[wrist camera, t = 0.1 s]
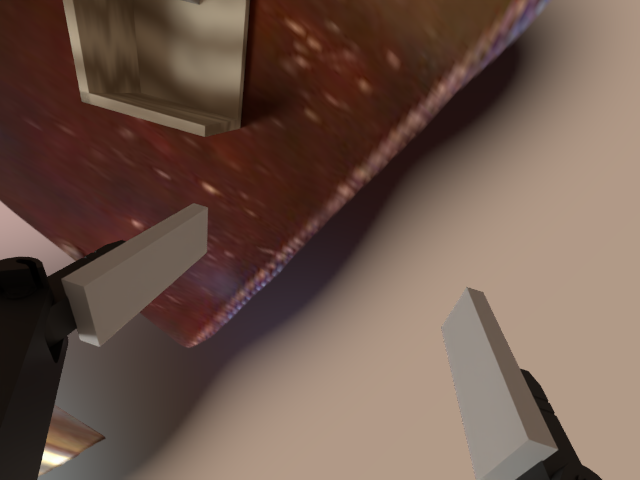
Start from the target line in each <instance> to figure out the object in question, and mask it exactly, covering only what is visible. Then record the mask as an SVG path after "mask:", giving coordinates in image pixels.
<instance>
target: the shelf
mask: <svg viewBox="0 0 640 480" xmlns="http://www.w3.org/2000/svg"><path fill="white" fill-rule="evenodd" d="M63 3H64V9H65V14H66V19H67V25H68V30H69V35H70V41H71V46H72V51H73V57H74V62H75V67H76V73H77V78H78V83H79V89H80V94H81V99H82V102H86V103H89V104H93V105H96V106H99V107H103V108H106V109H110V110H113V111H117V112H120V113H124V114H127V115H131V116H134V117H138V118H141V119H145V120H148V121H152V122H155V123H159V124H162V125H166V126H169V127H172V128H176V129H179V130H183V131H186V132H190V133H193V134H197V135H200V136H204V137H206V136H210V135H214V134H219V133H223V132H227V131H231V130H235V129H239V128H240V126H241V112H242V99H243V86H244V72H245V59H246V46H247V32H248V19H249V5H250V0H63Z"/></svg>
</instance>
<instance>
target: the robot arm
mask: <svg viewBox="0 0 640 480" xmlns="http://www.w3.org/2000/svg"><path fill="white" fill-rule="evenodd" d="M207 218H208V207H204V206H201V205H198V204H194V203H193V204H192V205H190V206H188V207H186V208H185V209H183V210H181V211H179V212H178V213H176V214H174V215H172V216H171V217H169V218H167V219H165V220H164V221H162V222H160V223H158V224H157V225H155V226H153V227H151V228H150V229H148V230H146V231H144V232H143V233H141V234H139V235H137V236H136V237H134V238H132V239H130V240H129V241H127V242H126V241H123V240H121V241H117V242H114V243H110V244H107V245H105V246H103V247H101V248H100V249H98V250H96V251H95V252H94V253H90V254H89V255H87V256H85V257H84V258H81V259H79V260H77V261H76V262H74V263H72V264H70V265H68V266H66V267H65V268H63V269H61V270H59V271H57V272H55V273H54V274H52V275H50V276H48V277H47V275H46V272H45V270H44V267H43V264H42V262H41V261H40V260H38V259H36V258H32V257H14V258H7V259H3V260H0V480H37V478H38V474H39V469H40V465H41V461H42V456H43V452H44V448H45V443H46V439H47V434H48V430H49V426H50V421H51V417H52V412H53V408H54V404H55V399H56V395H57V390H58V386H59V382H60V377H61V373H62V369H63V364H64V359H65V355H66V351H67V346H68V337H67V335H68V334H70V333H71V332H72V331H73V330H75V329H76V328H77V331H78V335H79V338H80V340H82V341H85V342H87V343H90V344H93V345H96V346H99V347H100V346H101V345H103V344H104V343H105V342H106V341H107V340H108V339H109V338H110V337H112V336H113V335H114V334H115V333H116V332H117V331H118V330H120V329H121V328H122V327H123V326H124V325H125V324H126V323H127V322H128V321H130V320H131V319H132V318H133V317H134V316H135V315H136V314H138V313H139V312H140V311H141V310H142V309H143V308H144V307H146V306H147V305H148V304H149V303H150V302H151V301H152V300H153V299H155V298H156V297H157V296H158V295H159V294H160V293H161V292H163V291H164V290H165V289H166V288H167V287H168V286H169V285H170V284H172V283H173V282H174V281H175V280H176V279H177V278H178V277H180V276H181V275H182V274H183V273H184V272H185V271H186V270H187V269H189V268H190V267H191V266H192V265H193V264H194V263H195V262H196V261H198V260H199V259H200V258H201V257H202V256H203V255H204V254H206V253H207ZM441 329H442V333H443V337H444V342H445V346H446V351H447V355H448V359H449V364H450V368H451V372H452V377H453V382H454V386H455V390H456V394H457V399H458V403H459V408H460V412H461V417H462V421H463V425H464V430H465V434H466V439H467V443H468V447H469V451H470V456H471V460H472V465H473V469H474V474H475V478H476V480H602V479H601V478H600V477H599V476H598V475H597V474H595V473H594V472H593V471H591V470H590V469H589V468H587V467H585V466H583V465H582V464H581V462H580V461H579V458H578V456H577V455H576V453H575V451H574V449H573V447H572V445H571V443H570V441H569V439H568V437H567V435H566V433H565V432H564V430H563V428H562V426H561V424H560V422H559V420H558V418H557V416H555V415H554V411H553V409H552V407H551V405H550V403H548V399H547V397H546V395H545V393H544V391H543V389H542V388H541V386H540V384H539V383H538V382H537V381H536V380H535V379H534V377H533V376H532V375H531V374H530V373H529V371H526V370H523V369H520V368H519V366H518V364H517V362H516V360H515V358H514V356H513V354H512V352H511V350H510V347H509V345H508V343H507V341H506V339H505V337H504V335H503V333H502V331H501V329H500V327H499V324H498V322H497V320H496V318H495V316H494V314H493V312H492V310H491V308H490V306H489V304H488V301H487V299H486V297H485V295H484V293H483V292H481V291H477V290H474V289H471V288H468V287H467V288H466V289H465V291H464V292H463V294H462V296H461V297H460V299H459V300H458V302H457V303H456V305H455V307H454V308H453V310H452V311H451V313H450V314H449V316H448V318H447V319H446V321H445V322H444V324H443V326H442V327H441Z"/></svg>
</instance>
